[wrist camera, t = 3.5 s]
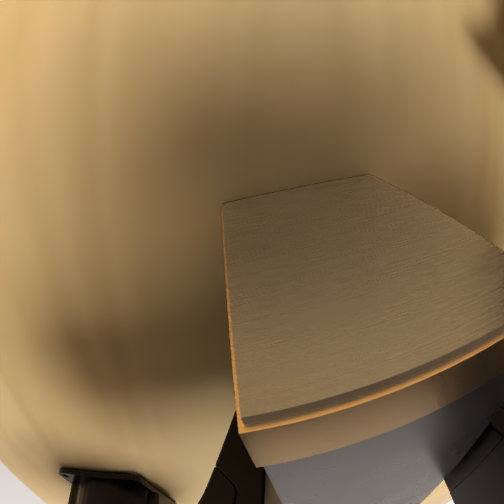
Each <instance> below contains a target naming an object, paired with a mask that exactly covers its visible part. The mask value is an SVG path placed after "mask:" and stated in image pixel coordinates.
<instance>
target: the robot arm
mask: <svg viewBox="0 0 504 504" xmlns="http://www.w3.org/2000/svg"><path fill="white" fill-rule="evenodd" d="M59 474H60V475H61V476H62V477H64V478H65V479H66V480H68V481H69V482H71V483H72V486H71V492H70V497H69V502H68V504H176V503H175V502H174V501H172V500H171V499H169V498H168V497H167V496H165V495H164V494H162V493H161V492H160V491H158V490H157V489H156V488H154V487H153V486H152V485H151V484H149V483H148V482H147V481H145V480H144V479H143V478H142V477H140V476H138V475H134V474H115V473H101V472H90V471H81V470H73V469H66V468H60V470H59ZM444 480H445V483H446V485H447V487H448V489H449V491H450V494H451V496H452V499H453V501H454V503H455V504H504V401H503V403H502V405H501V406H500V408H499V409H498V411H497V412H496V414H495V415H494V417H493V418H492V420H491V421H490V423H489V424H488V425H487V427H486V428H485V430H484V431H483V432H482V434H481V435H480V436H479V438H478V439H477V440H476V442H475V443H474V444H473V446H472V447H471V448H470V449H469V451H468V452H467V453H466V454H465V456H464V457H463V458H462V459H461V460H460V462H459V463H458V464H457V465H456V466H455V467H454V469H453V470H452V471H451V472H450V473H449V474H448V475H447V476H446V478H445V479H444ZM198 504H282V503H281V501H280V499H279V497H278V495H277V493H276V491H275V489H274V487H273V485H272V483H271V481H270V479H269V477H268V475H267V473H266V471H265V469H264V467H257V468H256V466H255V464H254V462H253V461H252V459H251V457H250V455H249V453H248V451H247V449H246V447H245V445H244V443H243V441H242V439H241V437H240V435H239V432H238V422H237V412H236V411H235V413H234V416H233V419H232V422H231V425H230V427H229V430H228V433H227V435H226V438H225V441H224V444H223V446H222V449H221V452H220V454H219V457H218V460H217V462H216V467H215V468H214V470H213V472H212V475H211V478H210V480H209V482H208V484H207V487H206V489H205V491H204V493H203V495H202V497H201V499H200V501H199V503H198Z"/></svg>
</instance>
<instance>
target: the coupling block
mask: <svg viewBox="0 0 504 504" xmlns="http://www.w3.org/2000/svg"><path fill="white" fill-rule="evenodd" d="M222 207H223V208H221V213H222V231H223V248H224V264H225V279H226V294H227V308H228V321H229V334H230V346H231V358H232V369H233V380H234V391H235V402H236V412H237V422H238V432H239V435H240V437H241V439H242V441H243V443H244V445H245V447H246V449H247V451H248V453H249V455H250V457H251V459H252V461H253V462H254V464H255V466H256V468H257V467H264V469H265V471H266V473H267V475H268V477H269V479H270V481H271V483H272V485H273V487H274V489H275V491H276V493H277V495H278V497H279V499H280V501H281V503H282V504H420V503H421V502H422V501H423V500H424V499H425V498H426V497H427V496H428V495H429V494H430V493H431V492H432V491H433V490H434V489H435V488H436V487H437V486H438V485H439V484H440V483H441V482H442V481H443V480H444V479H445V478H446V476H447V475H448V474H449V473H450V472H451V471H452V470H453V469H454V467H455V466H456V465H457V464H458V463H459V462H460V460H461V459H462V458H463V457H464V456H465V454H466V453H467V452H468V451H469V449H470V448H471V447H472V446H473V444H474V443H475V442H476V440H477V439H478V438H479V436H480V435H481V434H482V432H483V431H484V430H485V428H486V427H487V425H488V424H489V423H490V421H491V420H492V418H493V417H494V415H495V414H496V412H497V411H498V409H499V408H500V406H501V405H502V403H503V401H504V251H503V250H501V249H500V248H498V247H497V246H495V245H494V244H492V243H491V242H489V241H488V240H486V239H485V238H483V237H482V236H480V235H479V234H477V233H476V232H474V231H472V230H471V229H469V228H468V227H466V226H464V225H463V224H461V223H459V222H458V221H456V220H454V219H453V218H451V217H449V216H448V215H446V214H444V213H443V212H441V211H439V210H437V209H436V208H434V207H432V206H430V205H428V204H427V203H425V202H423V201H421V200H419V199H418V198H416V197H414V196H412V195H410V194H408V193H406V192H404V191H402V190H401V189H399V188H397V187H395V186H393V185H391V184H389V183H387V182H385V181H383V180H381V179H379V178H377V177H375V176H372V175H370V174H369V175H363V176H357V177H351V178H345V179H340V180H334V181H329V182H323V183H318V184H313V185H308V186H303V187H297V188H292V189H287V190H283V191H278V192H273V193H268V194H263V195H259V196H254V197H250V198H245V199H241V200H236V201H232V202H227V203H223V204H222Z"/></svg>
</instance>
